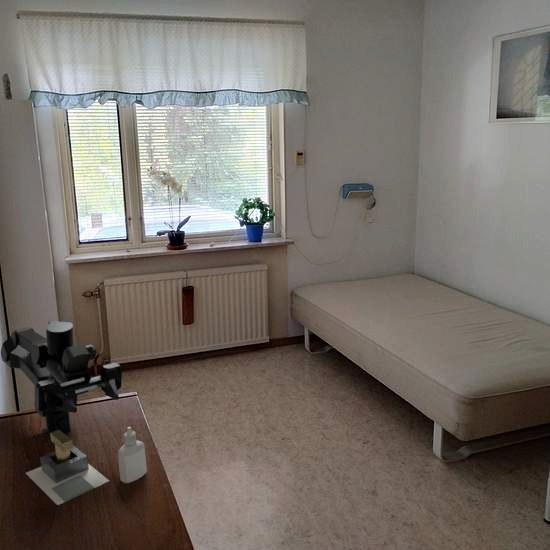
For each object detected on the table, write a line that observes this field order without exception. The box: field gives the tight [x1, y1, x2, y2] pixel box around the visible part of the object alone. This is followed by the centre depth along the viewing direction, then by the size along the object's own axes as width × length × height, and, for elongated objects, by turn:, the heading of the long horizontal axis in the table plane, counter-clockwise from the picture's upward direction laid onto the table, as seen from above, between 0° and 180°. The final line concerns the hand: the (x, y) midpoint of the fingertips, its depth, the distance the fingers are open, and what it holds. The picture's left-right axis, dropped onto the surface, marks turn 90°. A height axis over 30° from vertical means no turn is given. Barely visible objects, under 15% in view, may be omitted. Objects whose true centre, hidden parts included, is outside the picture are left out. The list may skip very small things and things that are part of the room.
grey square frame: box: [39, 444, 89, 483], centre depth 120 cm, size 7×7×3 cm
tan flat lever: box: [49, 430, 74, 465], centre depth 119 cm, size 6×3×8 cm, turn 45°
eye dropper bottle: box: [117, 426, 148, 484], centre depth 116 cm, size 4×6×12 cm
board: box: [25, 463, 110, 506], centre depth 118 cm, size 16×11×1 cm
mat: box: [52, 476, 95, 502], centre depth 113 cm, size 6×6×1 cm
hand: (97, 404), depth 116 cm, fingers open, 9 cm apart
